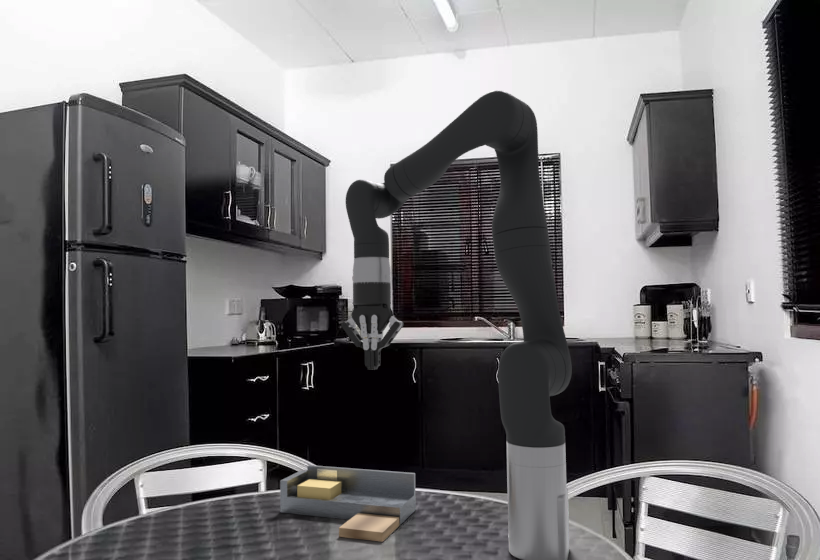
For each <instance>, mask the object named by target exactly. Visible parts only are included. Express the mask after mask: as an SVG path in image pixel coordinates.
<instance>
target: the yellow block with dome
mask: <svg viewBox="0 0 820 560" xmlns="http://www.w3.org/2000/svg"><path fill="white" fill-rule="evenodd" d="M340 494H341V482H340V481H328V480H315V479H309V480H307V481H305V482H303V483H301V484H300V485H298V486H297V497H306V498H316V499H327V500H332V499H334V498H335V497H337V496H338V495H340Z"/></svg>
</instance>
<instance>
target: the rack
mask: <svg viewBox="0 0 820 560" xmlns="http://www.w3.org/2000/svg"><path fill="white" fill-rule="evenodd" d="M309 479H315V480H328V481H340V482H341V494H340V495H338V496H337V497H335V498H334V499H332V500H327V499H316V498H306V497H297V486H298V485H300V484H301V483H303V482H305V481H307V480H309ZM279 486H280V489H279V491H280V492H279V493H280V495H279V496H280V498H279V500H280V502H279V503H280V505H279V508H280V513H282V514H283V513H284V514H285V513H286V514H293V515H301V516H303V515H304V516H311V517H312V516H313V517H321V518H332V519H342V520H350V519H351V518H352V517H354V516H355V515H356V514H358V513H362V514H372V515H382V516H391V517H399V526H401V525H402V524H403V523H404V522H405V521H406V520H407V519H408V518H409V517H410V516H412V514H414V512H415V511H417V510H416V509H417V506H416V504H417V502H416V500H417V499H416V473H415V472H408V471H407V472H406V471H405V472H404V471H391V470H379V469H366V468H365V469H363V468H354V467H353V468H351V467H339V466H338V467H337V466H327V465H326V466H323V465H315V464H314V465H312V464H310V465H307V469H301V470H298V471H297V472H294V473H293V474H290V475H289V476H287V477H284V478H283V479H280V485H279Z"/></svg>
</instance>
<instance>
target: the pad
mask: <svg viewBox="0 0 820 560" xmlns="http://www.w3.org/2000/svg"><path fill="white" fill-rule="evenodd" d="M399 527H400V525H399V517H391V516H382V515H372V514H362V513H358V514H356V515H355V516H354V517H352V518H351V519H350V520H349V519H347V520H346V521H345V522H344V523H343V524H342V525H341V526H339V527H338V537H340V538H346V539H347V538H348V539H357V540H365V541H373V542H374V541H375V542H384V541H385V540H386V539H387V538H389V536H391V535H392V534H393V532H395V531H396V529H398V528H399Z"/></svg>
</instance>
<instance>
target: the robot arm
mask: <svg viewBox="0 0 820 560" xmlns="http://www.w3.org/2000/svg"><path fill="white" fill-rule="evenodd" d="M537 121H538V120H537V118H536V115H535V112H534V111H533V109H532V108H531V106H530V105H529V104H527V103H526V102H525V101H523V100H521V99H519V98H518V97H516V96H514V95H513V94H511V93H509V92H506V91H504V90H491V91H489V92H487V93H484V95H481V96H480V97H478V98H477V100H475V101H474V102H473V103H471V105H469V106H468V107H467V108H466V109H465V110H463V112H462V113H460V114H459V115H458V116H457V117H456V118H455V119H454V120H452V121H451V122H450V123H449V124H448V125H447V126H446V127H445V128H443V129H442V130H441V131H440V132H438V134H437V135H435V136H434V137H433V138H432V139H430V140H429V141H428V142H427V143H426V144H424V145H422V146H421V147H419V148H418V149H417V150H416V151H414V152H412V153H410V154H409V155H407V156H406V157H404V158H402V159H400V160H398V161H397V162H396V163H394V164H393V165H391V166H390V167H389V168H387V170H386V171H385V173H384V177H383V181H384V182H383V183H382V182H381V183H378V182H375V181H370V180H367V179H356V180H355V181H353V182H352V183H351V184H350V185H349V187H348V188H347V191H346V194H345V209H346V215H347V217H348V222H349V227H350V230H351V233H352V236H353V266H352V305H353V309H352V311H351V314H350V315H351V317H350V318H348V319H347V320H346V321H343V322H342V323H341V328H342V329H343V330H344V332H345V333H346V335H347V336H348V338H349V339H350V340H351V342H352V343H353V345H355V347H356V348H361V349H363V350H364V365H365V367H366V368H367V370H374V371H375V370H378V368H379V367H380V366H381V360H382V359H381V358H382V357H381V351H382V349H383V348H386V347H389V346H390V345H391V344H392V343H393V341H394V339H395V338H396V337H397V335H398V334H399V332H400V331H401V330H402V328H403V327H404V325H405V324H404V322H403V321H401V320H398V319H397V317H395V316H394V312H393V310H392V307H391V305H392V294H391V293H392V280H391V279H392V275H391V273H392V272H391V263H390V240H389V239H390V237H389V233H388V232H387V231H386V230H385V229H383V228H382V227H380V226H379V225H378V221H377V219H378V220H379V219H385V218H388V217H390V216H391V215H393V214H395V213H397V211H398V210H399V209H401V207H402V206H403V205H405V203H406V202H407V201H408V200H409V199H410V198H412V197H414V196H416V195H417V194H420V193H421V192H423V191H425V190H427V189H428V188H429V187H431V186H433V185H434V184H436V182H438V181H439V180H440V179H441V178H442V177H443V176H444V175H445V173H446V172H447V170H449V168H450V167H451V165H452V164H453V163H454V162H455V161H456V160H457V159H458V158H460V157H461V156H463V155H464V154H466V153H468V152H470V151H473V150H475V149H478V148H480V147H483V146H486V147H488V148H491V149H494V152H495V155H496V159H497V164H498V171H499V180H500V185H499V186H500V188H499V193H498V197H497V200H496V206H495V208H494V212H493V216H492V220H491V233H492V234H491V235H492V243H493V251H494V259H495V264H496V269H497V271H498V272H499V276H500V277H501V280H502V281H503V283H504V284H505V286H506V287H505V288H507V290H508V293H509V294H510V295H511V297H512V299H513V301H514V303H515V305H516V308H517V310H518V311H517V312H518V314H519V317H520V322H521V326H522V327H521V328H522V335H523V336H522V337H523V341H522V340H521V341H516V342H513V343H511V344H509V345H508V346H506V348H505V349H504V350H503V352H502V354H501V355H500V359H499V363H498V370H497V371H498V372H497V380H498V381H497V383H498V395H499V397H498V398H499V410H500V418H501V419H500V420H501V423H502V425H503V428H504V431H505V435H506V477H507V478H506V482H507V483H506V484H507V487H506V489H507V490H506V491H507V523H508V525H507V527H508V528H507V529H508V531H507V532H508V535H507V540H508V551H509V554H510V555H512V556H513V557H514V558H517V559H519V560H568V558H569V552H570V516H569V515H570V514H569V511H570V507H569V488H568V487H567V462H566V461H567V460H566V459H567V458H566V457H567V456H566V429H565V425H564V424H563V423H561V422H560V421H558V420H556V419H555V418H554V417H553V415H552V409H551V399H550V397H553V396H556V395H559V394H560V393H562V392H564V391H565V390H566V389H567V388H568V386H569V384H570V381H571V378H572V369H573V367H572V366H573V365H572V359H571V354H570V353H571V352H570V350H569V346H568V342H567V337H566V334H565V331H564V330H565V329H564V326H563V322H562V317H561V313H560V309H559V302H558V295H557V289H556V287H557V286H556V280H555V277H554V268H553V263H552V262H553V260H552V251H551V250H552V249H551V244H550V236H549V229H548V228H549V227H548V223H547V217H546V212H545V204H544V197H543V190H542V185H541V177H540V167H539V165H540V164H539V140H538V139H539V136H538V135H539V134H538V123H537ZM387 326H388V328H389V329H388V330H387V332H386V333H385V335H384V331H385V329H386V328H387ZM356 327H358V329H359V330H360V333H359V331H358V330H357V328H356Z"/></svg>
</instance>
